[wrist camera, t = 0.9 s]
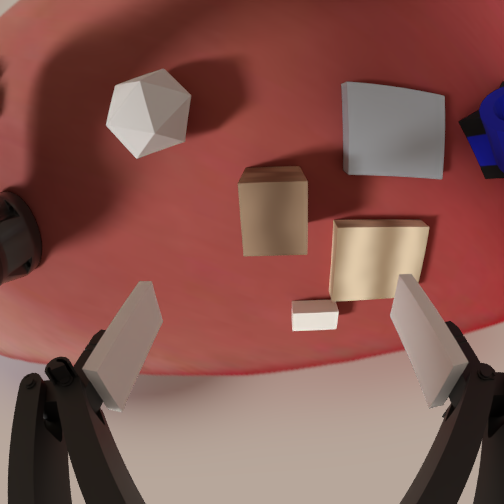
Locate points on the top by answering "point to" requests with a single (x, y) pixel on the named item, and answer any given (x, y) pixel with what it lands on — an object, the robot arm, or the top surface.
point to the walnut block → (274, 211)
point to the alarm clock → (488, 134)
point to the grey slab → (392, 131)
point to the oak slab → (374, 256)
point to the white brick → (314, 315)
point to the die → (149, 113)
